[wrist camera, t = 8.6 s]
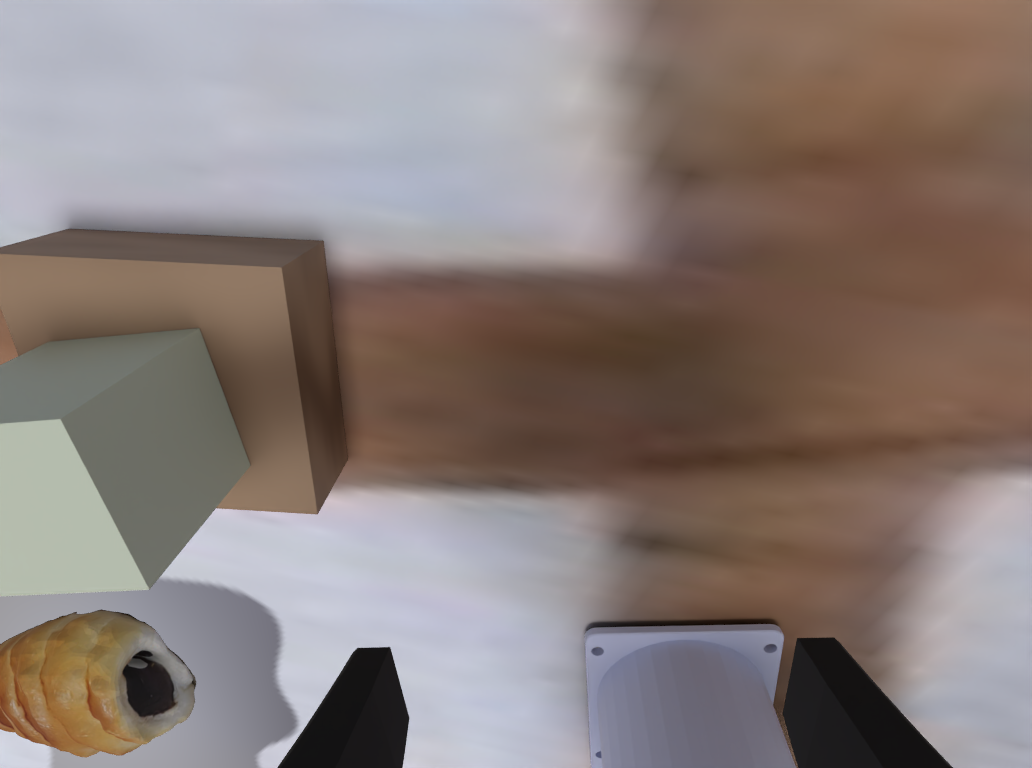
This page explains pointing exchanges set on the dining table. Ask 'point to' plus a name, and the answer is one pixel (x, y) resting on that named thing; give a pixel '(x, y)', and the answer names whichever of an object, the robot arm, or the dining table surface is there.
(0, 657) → the pastry
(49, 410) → the green block
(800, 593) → the dining table surface
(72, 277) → the base block
